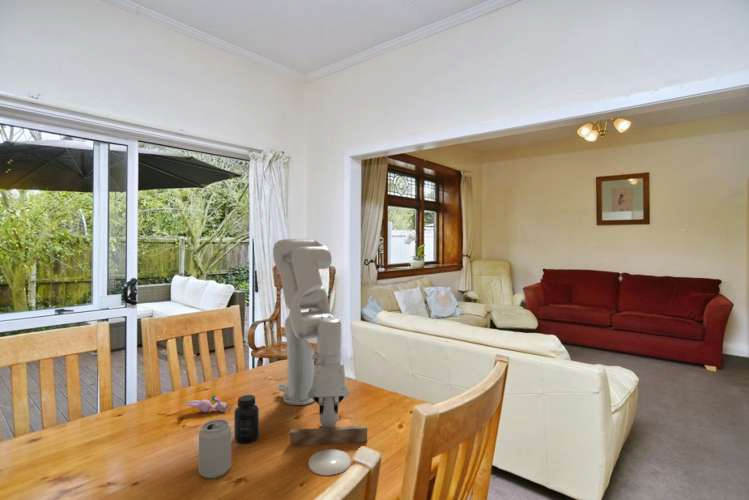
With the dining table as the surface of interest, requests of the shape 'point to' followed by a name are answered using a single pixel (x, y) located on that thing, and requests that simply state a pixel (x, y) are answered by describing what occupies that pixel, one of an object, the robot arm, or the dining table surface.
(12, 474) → the dining table surface
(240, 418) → the supplement bottle
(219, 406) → the rabbit figure
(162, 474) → the dining table surface
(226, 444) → the can
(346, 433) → the walnut wall
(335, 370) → the robot arm
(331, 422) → the grey tapered upright piece
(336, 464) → the ceramic coaster
